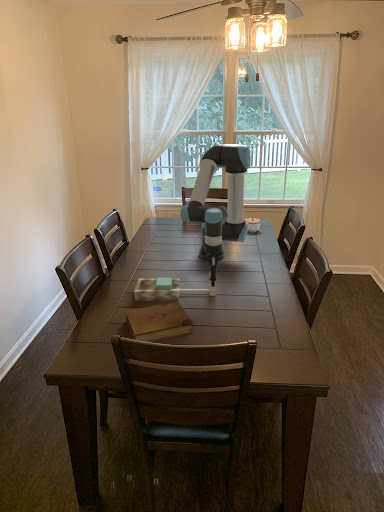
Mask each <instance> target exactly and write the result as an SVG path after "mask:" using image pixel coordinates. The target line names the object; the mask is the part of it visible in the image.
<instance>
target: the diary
mask: <svg viewBox="0 0 384 512" xmlns="http://www.w3.org/2000/svg"><path fill="white" fill-rule="evenodd" d="M125 320H126V321H125V322H126V323H127V326H128V329H129V331H130V334H131V336H132V339H135V340H140V341H148V342H152V343H155V342H154V341H157V342H160V341H164V340H170V339H174V338H178V337H182V336H187V334H188V335H191V333H192V334H194V333H193V331H192V329H191V326H192V325H193V323H194V322H193V320H192V319H191V318H190V317H189V315H188V314H187V312H186V310H185V309H184V308H183V306H182V305H181V303H180V302H179V300H178V301H171V302H168V303H163V304H157V305H152V306H146V307H142V308H138V309H137V308H136V309H132V310H127V311H125Z"/></svg>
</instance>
